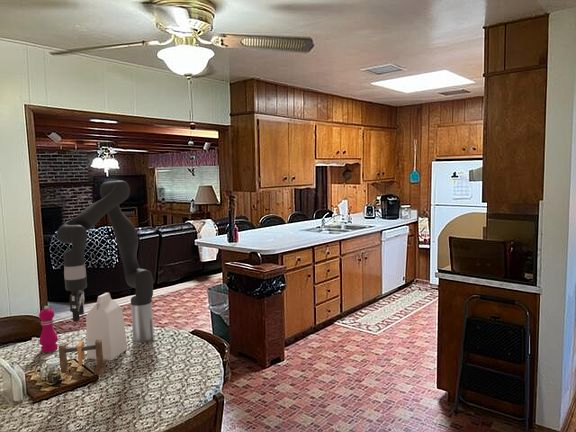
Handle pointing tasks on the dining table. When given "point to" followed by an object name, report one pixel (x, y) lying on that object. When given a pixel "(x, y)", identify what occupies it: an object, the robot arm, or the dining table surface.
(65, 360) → the hook frame
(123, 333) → the milk
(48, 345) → the pepper mill
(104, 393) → the dining table surface
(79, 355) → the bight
